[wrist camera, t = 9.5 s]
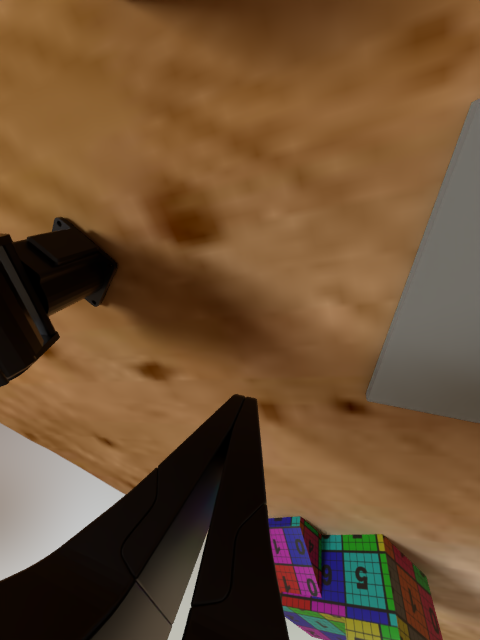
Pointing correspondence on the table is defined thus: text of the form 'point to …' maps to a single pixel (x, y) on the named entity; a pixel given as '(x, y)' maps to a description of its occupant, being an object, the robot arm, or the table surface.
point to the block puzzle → (350, 585)
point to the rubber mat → (441, 301)
